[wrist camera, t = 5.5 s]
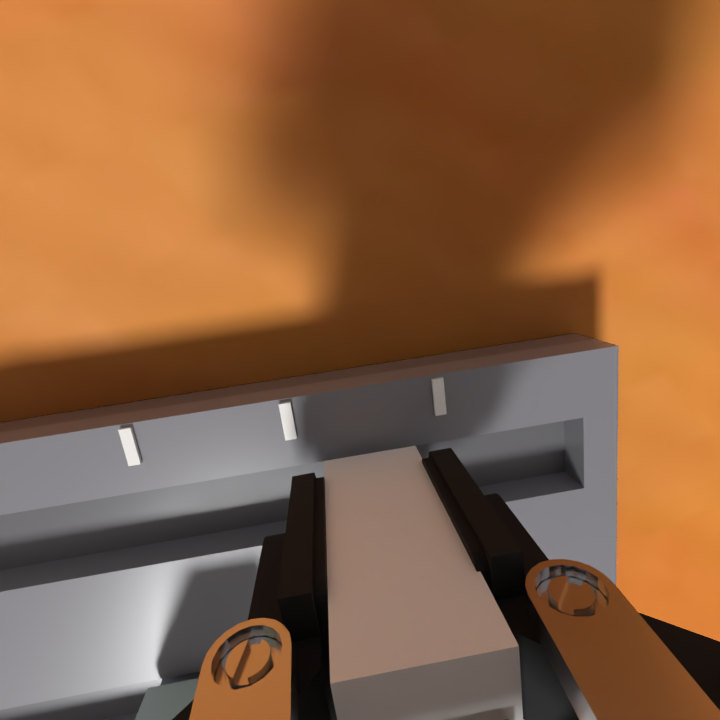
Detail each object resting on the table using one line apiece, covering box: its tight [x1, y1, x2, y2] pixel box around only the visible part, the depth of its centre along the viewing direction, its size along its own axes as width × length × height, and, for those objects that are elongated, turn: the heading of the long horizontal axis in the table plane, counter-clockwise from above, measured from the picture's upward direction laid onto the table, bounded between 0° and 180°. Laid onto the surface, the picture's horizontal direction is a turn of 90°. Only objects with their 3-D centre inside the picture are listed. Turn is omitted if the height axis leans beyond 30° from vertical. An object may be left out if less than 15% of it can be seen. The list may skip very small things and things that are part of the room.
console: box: [0, 333, 618, 720], centre depth 13 cm, size 22×12×2 cm, turn 98°
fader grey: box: [324, 446, 523, 720], centre depth 9 cm, size 2×3×7 cm
